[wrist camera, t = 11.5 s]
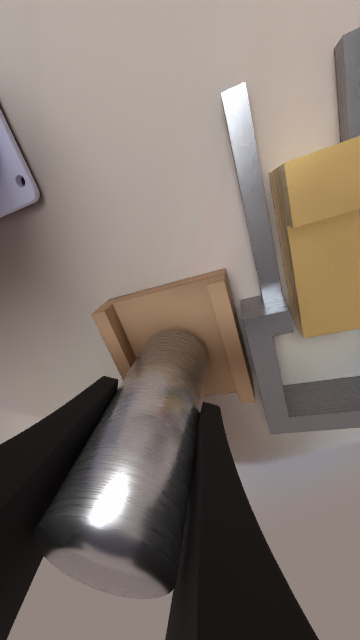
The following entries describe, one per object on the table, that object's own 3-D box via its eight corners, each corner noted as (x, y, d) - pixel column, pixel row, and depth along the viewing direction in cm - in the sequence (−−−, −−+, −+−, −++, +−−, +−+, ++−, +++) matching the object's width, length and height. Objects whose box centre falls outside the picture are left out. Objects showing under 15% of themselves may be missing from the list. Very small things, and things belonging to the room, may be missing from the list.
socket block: (196, 112, 11) (186, 89, 8) (400, 17, 8) (461, -48, 6) (265, 401, 16) (270, 434, 14) (397, 387, 14) (428, 422, 12)
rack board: (109, 299, 15) (91, 314, 13) (225, 268, 13) (224, 280, 11) (149, 390, 18) (140, 415, 16) (252, 376, 16) (255, 402, 14)
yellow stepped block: (269, 173, 11) (284, 163, 8) (330, 151, 10) (372, 130, 7) (292, 316, 14) (310, 351, 10) (342, 306, 13) (378, 340, 10)
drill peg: (138, 328, 13) (13, 505, 6) (206, 330, 12) (170, 534, 5) (147, 382, 15) (56, 581, 7) (208, 386, 14) (181, 611, 6)
